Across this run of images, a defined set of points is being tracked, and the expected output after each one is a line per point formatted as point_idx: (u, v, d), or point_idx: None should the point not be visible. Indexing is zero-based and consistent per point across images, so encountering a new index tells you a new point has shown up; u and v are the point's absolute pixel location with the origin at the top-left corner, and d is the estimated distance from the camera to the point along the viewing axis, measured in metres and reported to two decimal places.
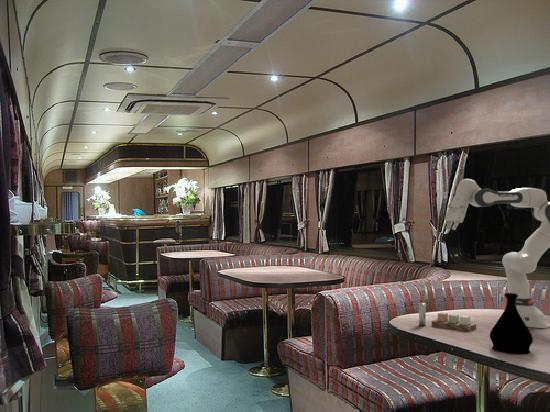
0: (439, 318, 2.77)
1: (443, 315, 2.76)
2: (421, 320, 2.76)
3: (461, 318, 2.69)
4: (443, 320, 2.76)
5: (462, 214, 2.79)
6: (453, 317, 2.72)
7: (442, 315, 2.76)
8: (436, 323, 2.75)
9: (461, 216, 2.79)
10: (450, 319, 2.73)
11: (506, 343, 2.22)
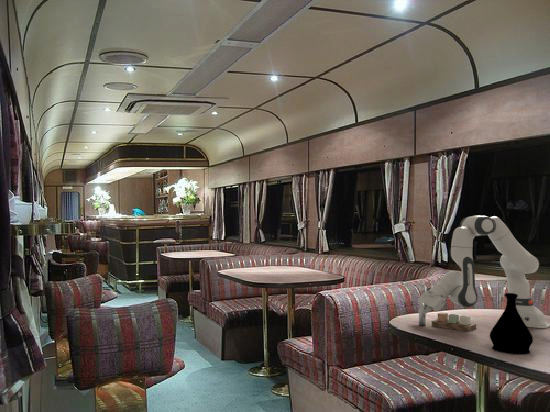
0: (439, 318, 2.77)
1: (443, 315, 2.76)
2: (421, 320, 2.76)
3: (461, 318, 2.69)
4: (443, 320, 2.76)
5: (441, 304, 2.69)
6: (453, 317, 2.72)
7: (442, 315, 2.76)
8: (436, 323, 2.75)
9: (439, 305, 2.68)
10: (450, 319, 2.73)
11: (506, 343, 2.22)
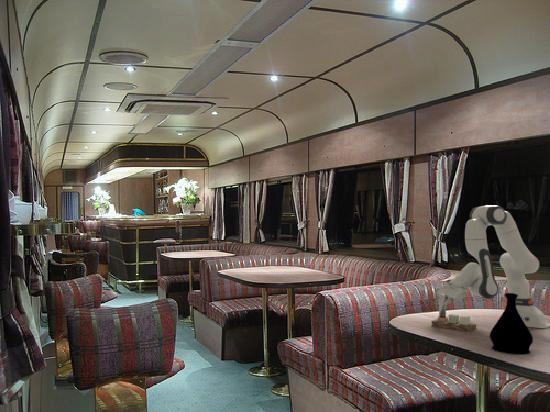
0: None
1: (443, 319, 2.76)
2: (442, 311, 2.77)
3: (461, 318, 2.69)
4: None
5: (462, 295, 2.70)
6: (453, 317, 2.72)
7: (442, 319, 2.76)
8: (436, 323, 2.75)
9: (460, 296, 2.69)
10: (450, 319, 2.73)
11: (506, 343, 2.22)
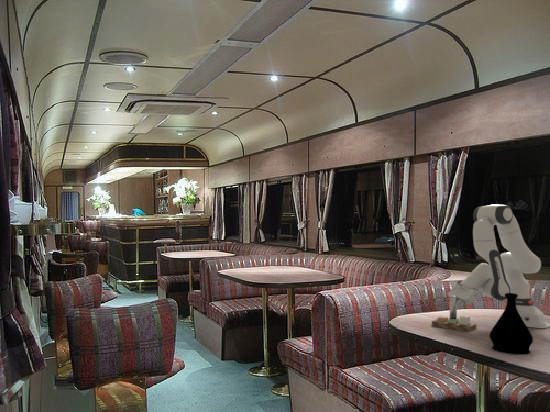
0: None
1: (443, 319, 2.76)
2: (452, 313, 2.73)
3: (461, 318, 2.69)
4: None
5: (474, 296, 2.66)
6: (453, 321, 2.72)
7: (442, 319, 2.76)
8: (436, 323, 2.75)
9: (472, 298, 2.65)
10: None
11: (506, 343, 2.22)
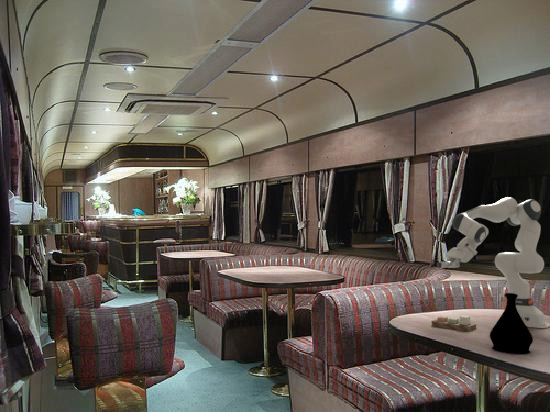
0: None
1: (443, 319, 2.76)
2: None
3: (461, 318, 2.69)
4: None
5: None
6: (453, 321, 2.72)
7: (442, 319, 2.76)
8: (436, 323, 2.75)
9: None
10: None
11: (506, 343, 2.22)
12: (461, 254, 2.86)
